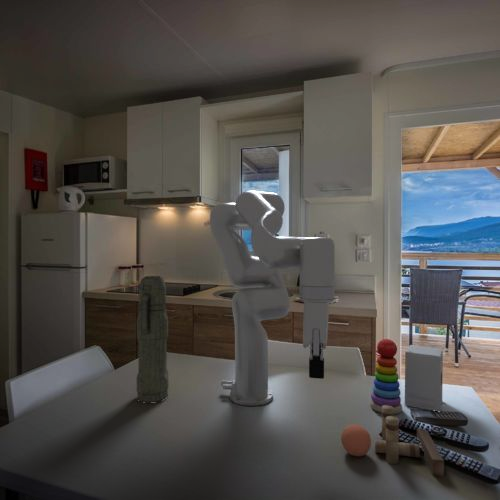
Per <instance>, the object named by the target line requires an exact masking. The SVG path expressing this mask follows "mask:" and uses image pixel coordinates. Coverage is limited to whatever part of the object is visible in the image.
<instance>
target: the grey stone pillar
mask: <svg viewBox="0 0 500 500" xmlns="http://www.w3.org/2000/svg"><path fill="white" fill-rule="evenodd" d="M166 304H167V285H166V283H165V280H164V277H162V276H161V275H148V276H144V277H142V278H141V280H140V283H139V286H138V305H139V308H138V315H137V317H136V340H137V341H138V371H137V376H136V392H137V394H136V396H137V398H136V400H137V399H138V400H139V401H141V402H145V403H151V402H158V401H161V400H163V399H165V398H166V397H167V396H168V397H169V391H168V389H169V372H168V371H169V370H168V367H167V366H168V365H167V357H168V355H167V350H168V349H167V345H168V344H167V341H168V337H169V317H168V314H167V308H166ZM168 397H167V398H168ZM138 400H137V401H138ZM165 400H166V399H165ZM158 403H159V402H158Z"/></svg>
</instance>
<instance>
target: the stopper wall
mask: <svg viewBox="0 0 500 500" xmlns="http://www.w3.org/2000/svg"><path fill="white" fill-rule="evenodd" d="M417 438H418V439H419V440H420V443H421V445H422V447H423V450H424V456H423V458H424V460H425V462H426V464H427V466H428V469H429V470H430V472H431V475H432V476H437V477H444V476H445V460H444V458H443V456H442V455H441V453H440V451H439V449H438V447H437V445H436V444H435V442H434V440H433V439H432V437H431V434H430V433H429V432H428V430H427V428H426V429H425V428H416V439H417Z"/></svg>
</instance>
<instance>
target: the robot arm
mask: <svg viewBox="0 0 500 500" xmlns="http://www.w3.org/2000/svg"><path fill="white" fill-rule="evenodd" d="M285 209H286V208H285V202H284V199H283V198H282V197H281V195H280V194H277V193H276V192H269V191H268V192H267V191H259V190H247V191H246V190H245V191H244V192H242V193H240V194H239V195H237V198H236V199H235V202H222V203H217V204H216V205H214V206H213V207H212V209H211V211H210V214H209V215H210V216H209V225H210V226H209V227H210V230H211V234H212V236H213V239H214V241H215V242H216V244H217V246H218V248H219V250H220V253H221V256H222V259H223V264H224V266H225V270H226V273H227V276H228V279H229V282H230V284H231V286H233V287H235V288H240V290H237V291H236V292H235V293H234V295H232V298H231V309H232V316H233V323H234V379H232V380H228V379H222V380H221V382H220V385H221V387H222V389H223V390H230V392H229V398H230V400H231V401H232V402H233V403H234V404H237V405H239V406H244V407H245V406H247V407H248V406H249V407H255V406H256V407H257V406H262V405H266V404H269V403H270V402H271V401H273V399H274V392H273V390H272V389H270V388H269V337H268V334H267V333H268V332H267V331H266V329H265V328H264V326H263V324H262V323H261V322H262V321H266V320H267V321H269V320H275V319H281V318H284V317H286V316H287V315H288V314H289V312H290V309H291V300H290V296H289V293H288V289H287V287H286V284H285V282H284V278H283V276H282V273H281V271H280V270H286V269H287V270H288V269H290V270H291V269H292V270H293V269H295V270H298V269H299V301H301V302H303V321H302V322H303V325H302V326H303V330H302V331H303V333H302V347H303V348H304V349H307V348H309V357H308V358H309V359H308V377H309V378H310V379H320V380H322V379H324V378H325V358H324V350H325V349H326V348H327V343H328V333H329V313H330V312H329V309H330V308H329V306H330V305H329V304H330V303H332V302H334V301H335V251H336V250H335V242H334V239H332V238H330V237H326V236H323V237H322V236H321V237H320V236H319V237H318V236H315V237H314V236H309V237H304V236H276V235H277V234H278V233H279V232H280V231H281V229H282V226H283V223H284V219H283V215H284V212H285ZM235 230H236V231H237V230H238V231H251V232H250V246H251V249H252V251H253V252H254V254H255V256H254V255H252V254H251V251H250V250H249V247H248V244H247V242H246V241H245V240H244V238H243V237H242V236H241V235H240V234H239V233H237V232H236V231H235Z"/></svg>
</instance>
